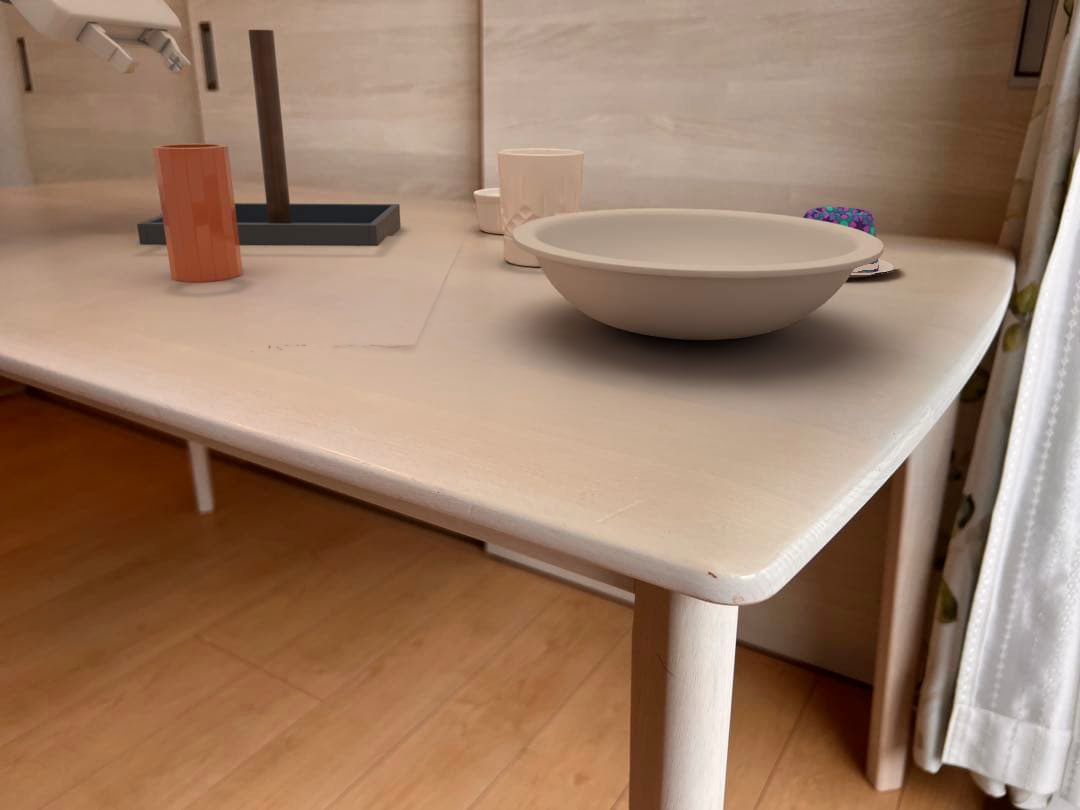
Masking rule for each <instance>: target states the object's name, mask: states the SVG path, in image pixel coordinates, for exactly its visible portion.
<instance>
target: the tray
mask: <svg viewBox="0 0 1080 810" xmlns="http://www.w3.org/2000/svg"><path fill="white" fill-rule="evenodd" d="M235 210H236V219H237V227H238V236H239V244H240V246H317V247H318V246H321V247H324V246H327V247H329V246H333V247H334V246H337V247H339V246H340V247H341V246H342V247H378V246H379V245H380V244H381V243H382V242H383V241H384V240H385V239H386V237H393V236H394V234H395V233H396V232H397V231H398V230H399V229H400V228H401V225H402V224H401V207H400V203H298V202H297V203H295V202H294V203H291V202H290V211H291V221H292V223H268V214H267V204H266V202H265V203H263V202H235ZM136 227H137V234H138V239H139V244H140V246H141V245H145V246H146V245H150V246H153V245H155V246H157V245H158V246H159V245H162V246H167V243H166V237H165V230H164V223H163V216H162V214H159V215H158V216H155V217H152V218H150V219H146V220H143V221H141V222H138V223H136Z"/></svg>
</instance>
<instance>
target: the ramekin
mask: <svg viewBox="0 0 1080 810" xmlns="http://www.w3.org/2000/svg"><path fill="white" fill-rule="evenodd" d="M473 199H474V201H475V207H476V217H477V223H478V228H479V230H481V231H482V232H485V233H488V234H495V235H496V234H497V235H505V234H504V233H503V229H502V222H501V217H502V213H501V207H500V189H499V187H492V188H491V187H490V188H482V189H478V190H475V191H473Z"/></svg>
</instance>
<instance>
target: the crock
mask: <svg viewBox="0 0 1080 810" xmlns="http://www.w3.org/2000/svg"><path fill="white" fill-rule="evenodd" d="M151 149H152V152H153V153H152V154H153V155H152V156H153V161H154V169H155V175H156V182H157V188H158V195H159V202H160V208H161V215H162V216H163V223H164V230H165V237H166V243H167V245H166V250H167V257H168V263H169V269H170V277H171V279H172V280H173V281H176V282H181V283H195V284H196V283H197V284H199V283H214V282H223V281H228V280H233V279H236V278H239V277H241V276H243V273H244V271H243V261H242V253H241V245H240V244H239V236H238V227H237V219H236V210H235V203H236V202H235V193H234V185H233V177H232V169H231V168H232V167H231V161H230V160H231V159H230V152H229V146H228V145H227V144H224V143H205V142H204V143H200V142H199V143H192V142H191V143H169V144H167V143H166V144H158V145H153V146H152V147H151Z"/></svg>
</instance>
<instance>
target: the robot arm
mask: <svg viewBox="0 0 1080 810" xmlns="http://www.w3.org/2000/svg"><path fill="white" fill-rule="evenodd" d="M0 2H2V3H5V4H8V5H12V6H14V8H16V10H17V11H18V12H19V13H20V14H21V15H22V17H23V18H24V19H25V20H26V21H27V22H28V23H29V24H30V25H31V26H32V27H33V29H35V31H36V32H37V33H39V34H40V35H42V36H43V37H45V38H46V39H48V40H49V41H51V42H54V43H61V44H76V45H78V44H79V45H82V46H83V47H84V48H85V49H86V50H87V51H89V52H90V53H93V54H94V55H96V56H97V57H99V58H101V59H102V60H103V61H105V62H108V63H109V64H110V65H111V66H112V67H113V68H114V69H115V70H116V71H117V72H118V73H120V74H133V73H134V72H135V70H136V69H137V68H138V66H139V64H140V62H139V59H138V58H137V56H135V55H134V54H133V53H132V52H131V51H130V50H129V48H135V49H150V50H153V51H154V52H155V53H157V54H160V55H161V57H162V58H163V60H164V63H163V65H164V66H165V67H166V68H167V69H168V70H169V71H170V72H171V73H172V74H173V75H179V76H183V75H186V74H187V72H188V71H189V69H190V68H191V65H192V64H191V61H190V60H189V59H188V58H187V57H186V56H185V55H184V54H183V53H182V52H181V49H180V47H179V45H178V43H177V41H176V39H177V38H178V37H179V35H180V33H182V32H181V31H182V30H183V27H182V24H181V21H180V19H179V17H178V16H177V14H176V13H175V12H174V11H173V10H172V9H171V8H170V7H169V5H168V4H167V3H166V2H165V1H164V0H0Z"/></svg>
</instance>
